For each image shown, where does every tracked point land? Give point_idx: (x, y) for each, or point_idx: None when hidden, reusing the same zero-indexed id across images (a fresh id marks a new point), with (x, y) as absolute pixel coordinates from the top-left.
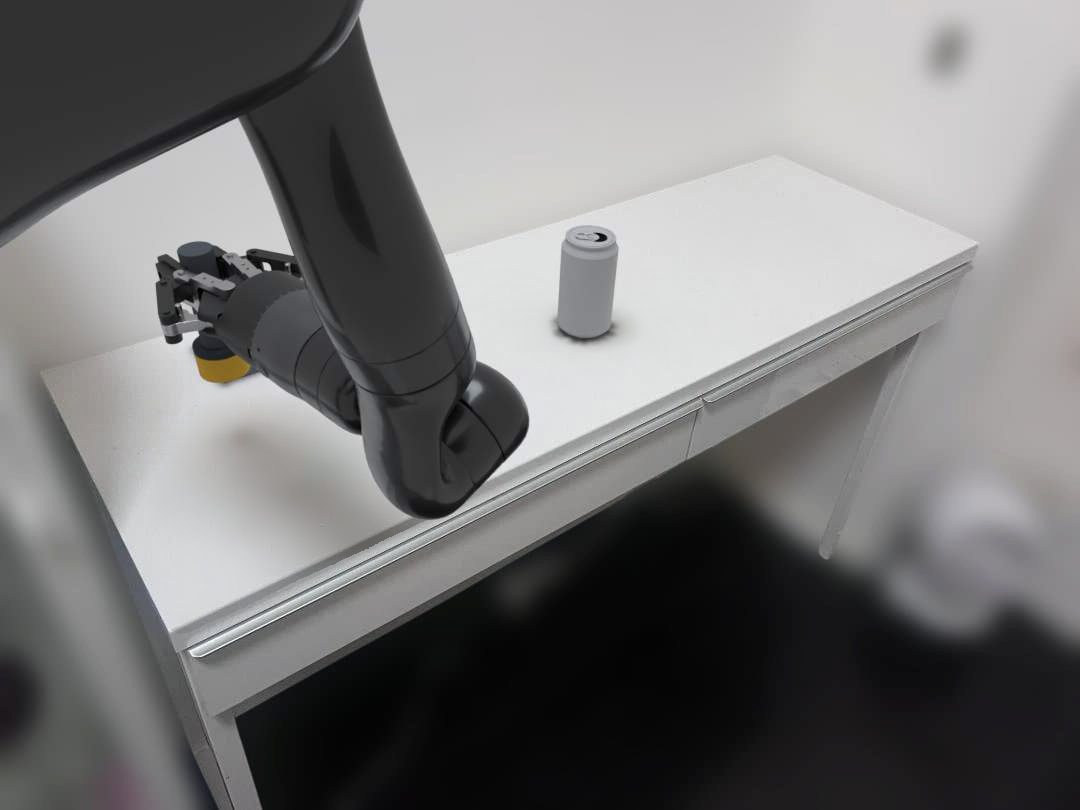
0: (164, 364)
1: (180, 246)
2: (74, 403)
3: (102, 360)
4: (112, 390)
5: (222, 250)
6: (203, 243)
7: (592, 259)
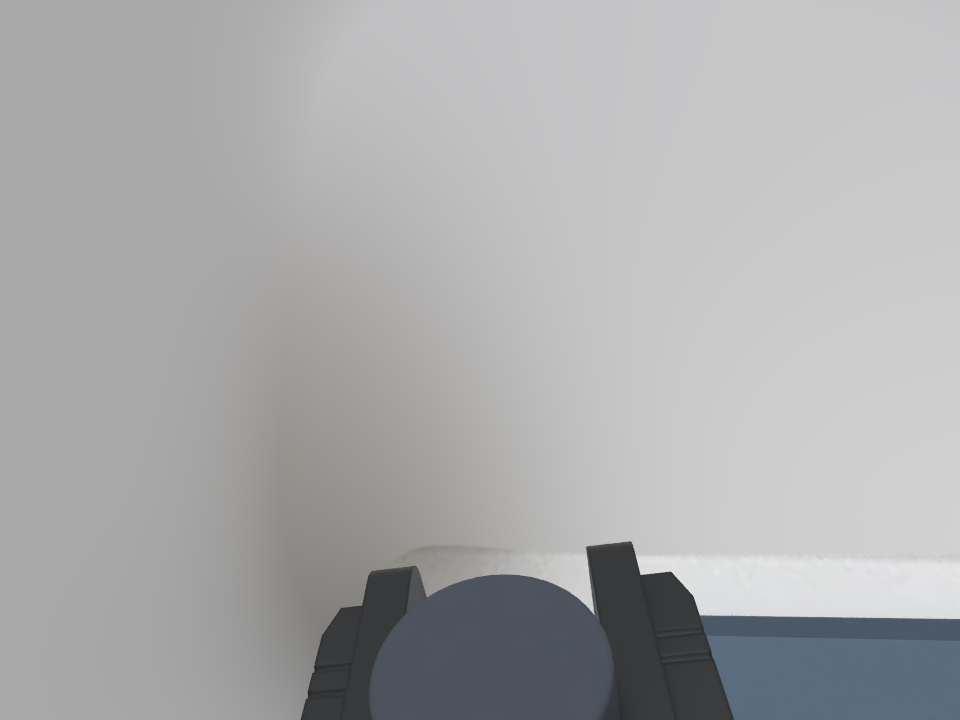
0: None
1: (438, 594)
2: None
3: (481, 571)
4: None
5: (707, 663)
6: (568, 632)
7: None
